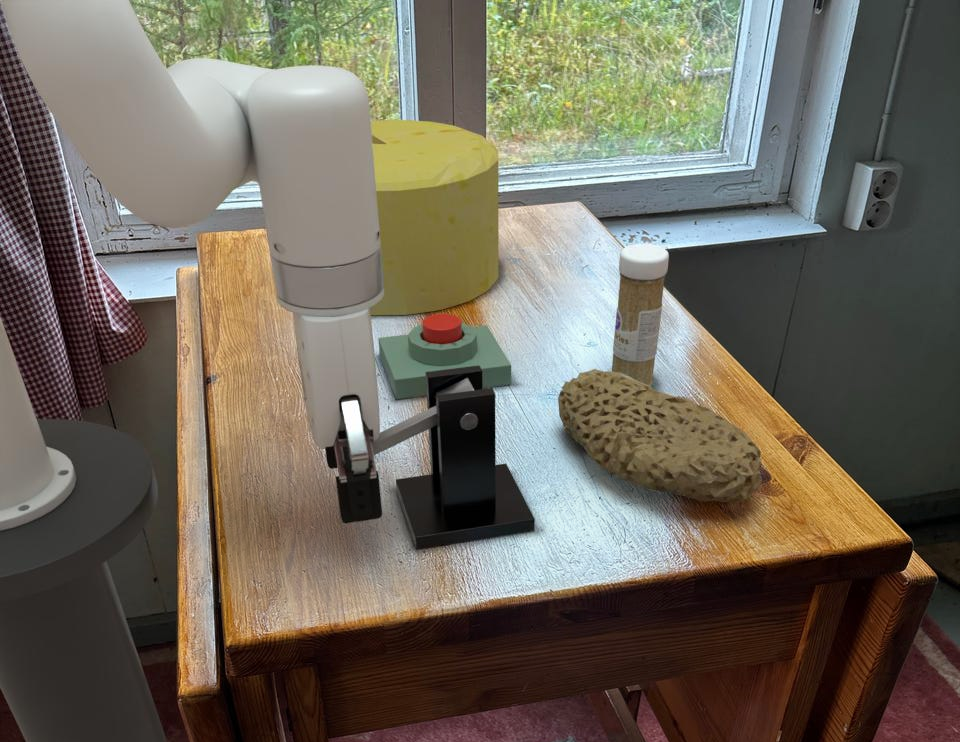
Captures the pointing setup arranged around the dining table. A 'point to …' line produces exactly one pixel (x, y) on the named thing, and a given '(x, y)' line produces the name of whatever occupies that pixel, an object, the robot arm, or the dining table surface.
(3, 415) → the robot arm
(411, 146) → the cheese
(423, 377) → the button box
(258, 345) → the dining table surface
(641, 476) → the sponge
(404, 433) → the lever
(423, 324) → the button
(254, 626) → the dining table surface
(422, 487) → the bracket
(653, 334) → the sprinkles bottle
